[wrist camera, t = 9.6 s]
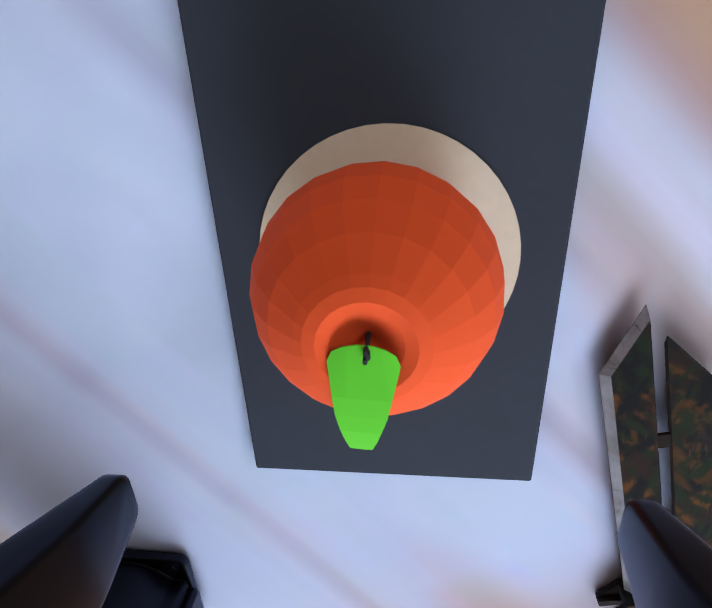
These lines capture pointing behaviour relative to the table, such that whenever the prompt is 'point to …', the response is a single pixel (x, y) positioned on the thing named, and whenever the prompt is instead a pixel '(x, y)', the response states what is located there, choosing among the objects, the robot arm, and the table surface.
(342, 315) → the clementine
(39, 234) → the table surface
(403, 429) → the placemat
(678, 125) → the table surface
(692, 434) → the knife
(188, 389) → the table surface
